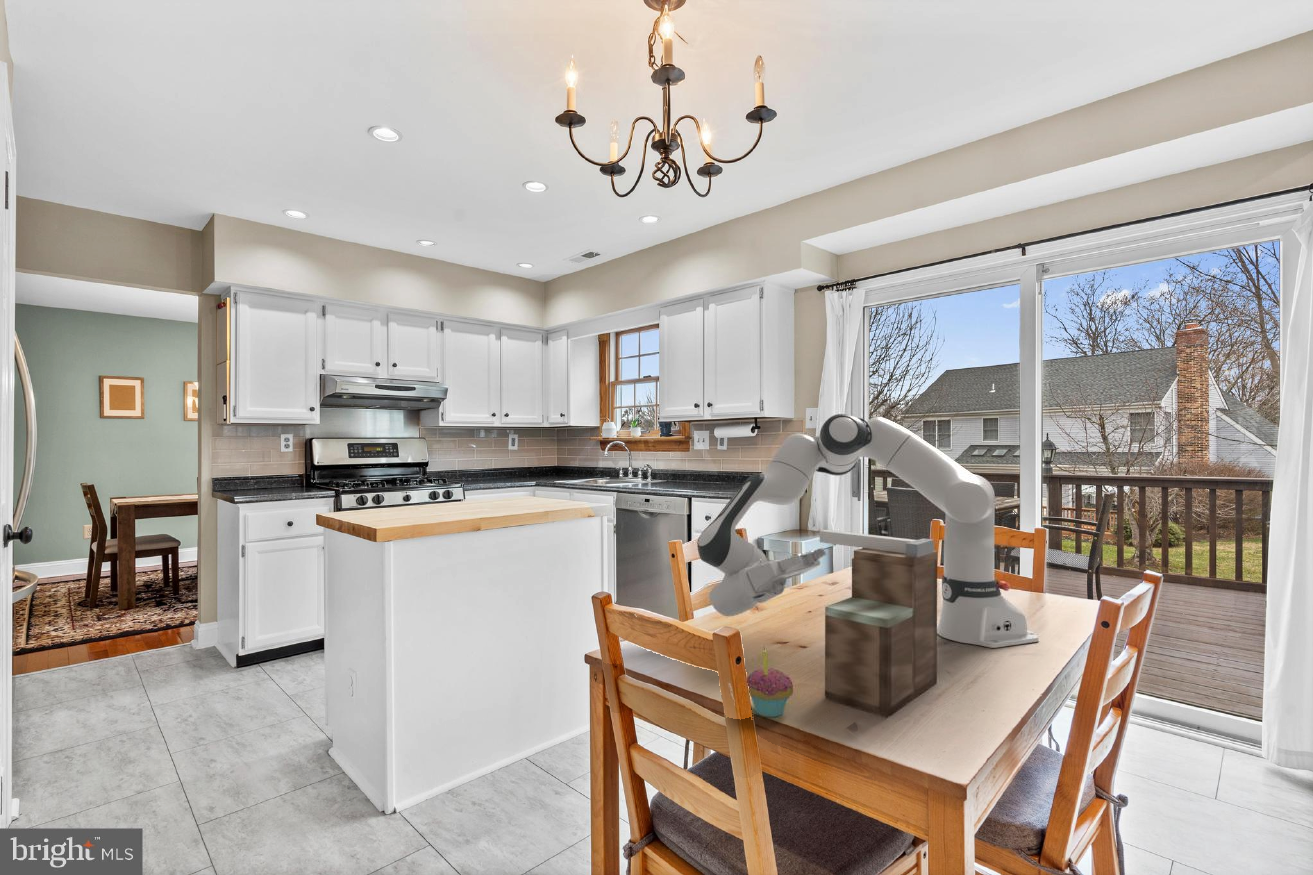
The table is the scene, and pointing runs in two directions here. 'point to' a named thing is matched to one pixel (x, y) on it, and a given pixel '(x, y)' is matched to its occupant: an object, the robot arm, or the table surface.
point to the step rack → (883, 633)
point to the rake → (879, 542)
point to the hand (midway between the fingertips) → (812, 554)
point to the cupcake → (769, 690)
